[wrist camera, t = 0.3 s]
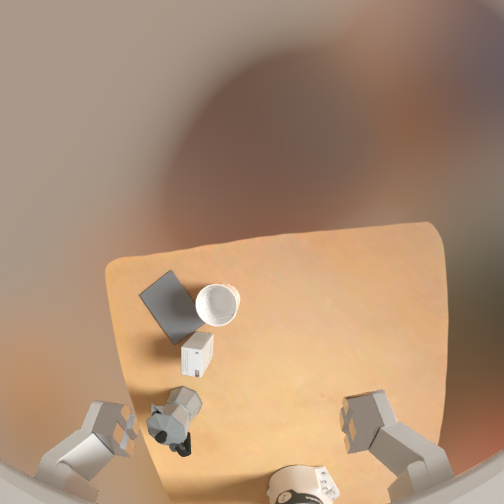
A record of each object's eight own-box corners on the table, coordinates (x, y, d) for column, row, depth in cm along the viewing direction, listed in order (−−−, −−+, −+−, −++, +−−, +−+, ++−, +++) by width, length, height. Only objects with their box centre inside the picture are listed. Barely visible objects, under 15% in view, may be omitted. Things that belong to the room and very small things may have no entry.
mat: (207, 321, 62) (207, 321, 62) (174, 344, 63) (174, 344, 62) (171, 270, 63) (170, 270, 63) (140, 295, 64) (139, 295, 63)
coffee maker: (158, 384, 63) (126, 416, 45) (188, 374, 62) (161, 408, 44) (186, 432, 62) (163, 472, 44) (216, 424, 61) (200, 467, 43)
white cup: (211, 319, 62) (200, 329, 52) (204, 284, 63) (191, 288, 53) (246, 313, 62) (241, 322, 52) (239, 277, 62) (232, 280, 52)
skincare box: (195, 330, 63) (178, 345, 50) (215, 332, 62) (202, 348, 50) (195, 356, 62) (178, 374, 50) (214, 358, 62) (201, 378, 50)
